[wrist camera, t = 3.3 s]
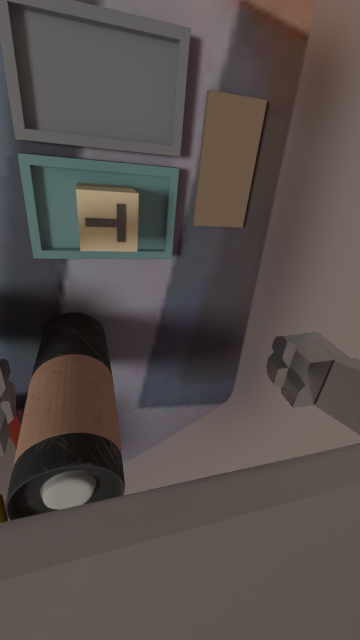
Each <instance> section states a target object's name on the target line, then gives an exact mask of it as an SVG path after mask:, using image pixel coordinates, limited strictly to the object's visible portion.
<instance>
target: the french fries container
mask: <svg viewBox="0 0 360 640" xmlns="http://www.w3.org/2000/svg"><path fill="white" fill-rule="evenodd" d="M8 427H9V431H10V435H9V439H8V443H7V447H6V451H5V454H4V455H3V456H0V523H2V522H6V521H10V519H9V518H8V516H7V514H6V499H7V493H8V488H9V483H10V479H11V474H12V469H13V464H14V459H15V454H16V449H17V444H18V439H19V434H20V430H21V425H20V422H19V420H18V417H17V415H16V412H15V415H14V419H13V420H12V421H11V422H10V423H9V424H8Z"/></svg>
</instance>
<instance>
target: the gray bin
mask: <svg viewBox="0 0 360 640" xmlns="http://www.w3.org/2000/svg"><path fill="white" fill-rule="evenodd" d="M190 33H191V28H187V27H183V26H179V25H174V24H170V23H166V22H162V21H158V20H153V19H149V18H145V17H141V16H137V15H133V14H128V13H124V12H120V11H116V10H112V9H107V8H103V7H99V6H95V5H91V4H86V3H82V2H78V1H74V0H0V41H1V48H2V55H3V61H4V68H5V74H6V81H7V87H8V94H9V100H10V107H11V113H12V120H13V127H14V133H15V139H19V140H29V141H38V142H48V143H57V144H66V145H76V146H85V147H94V148H104V149H113V150H123V151H132V152H141V153H151V154H160V155H169V156H179V157H180V153H181V141H182V129H183V117H184V105H185V93H186V81H187V69H188V57H189V45H190Z"/></svg>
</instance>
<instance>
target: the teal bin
mask: <svg viewBox="0 0 360 640" xmlns="http://www.w3.org/2000/svg"><path fill="white" fill-rule="evenodd" d="M18 159H19V166H20V172H21V179H22V185H23V192H24V199H25V205H26V212H27V218H28V225H29V231H30V238H31V244H32V251H33V257H34V258H53V259H172V250H173V238H174V226H175V214H176V201H177V189H178V177H179V168H175V167H165V166H155V165H144V164H134V163H123V162H113V161H102V160H92V159H81V158H71V157H60V156H50V155H39V154H29V153H18ZM77 183H91V184H105V185H118V186H131V187H132V188H133V189H134V190H135V191H137V192H138V193H139V204H138V246H137V252H121V251H80V238H79V224H78V211H77V197H76V185H77Z"/></svg>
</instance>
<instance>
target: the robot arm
mask: <svg viewBox="0 0 360 640" xmlns="http://www.w3.org/2000/svg"><path fill="white" fill-rule="evenodd" d="M272 349H273V350H274V352H273V353H272V354H271V356H270V357H269V358H268V362H267V373H268V376H269V378H270V380H271V381H272V382H273V383H274V384H275V385H277V386H279V387H280V388H281V393H282V395H283V396H284V397H285V398H286V399H287V401H288V402H289V403H290V405H291V406H292V407H293V408H294V407H302V406H308V405H315V406H316V407H317V408H319V409H321V410H322V411H324V412H325V413H327V414H328V415H330V416H331V417H333V418H335V419H336V420H338V421H339V422H341V423H342V424H344V425H345V426H347V427H348V428H350V429H352V430H353V431H355V432H356V433H358V434H359V435H360V360H359V359H356V358H353V359H351V358H350V357H349V356H348V355H346V354H345V353H344V352H342V351H341V350H340V349H339V348H337V347H336V346H335V345H334V344H332V343H331V342H330V341H328V340H327V339H326V338H325V337H323V336H322V335H321V334H319V333H316V332H313V333H304V334H299V335H288V336H278V337H276V338H275V340H274V341H273V344H272ZM10 372H11V370H10V366H9V363H8V361H7V360H6V359H0V456H3V455H4V454H5V451H6V447H7V443H8V439H9V435H10V431H9V427H8V424H9V423H10V422H11V421H12V420H13V419H14V415H15V411H16V392H15V387H14V384H13V383H12V382H10V381H9V380H8V379H9V375H10ZM0 640H360V443H358V444H353V445H349V446H345V447H340V448H335V449H332V450H327V451H322V452H318V453H313V454H309V455H305V456H300V457H295V458H291V459H286V460H282V461H277V462H273V463H268V464H264V465H260V466H255V467H250V468H246V469H241V470H237V471H232V472H228V473H223V474H219V475H214V476H209V477H205V478H201V479H196V480H192V481H187V482H182V483H178V484H174V485H169V486H164V487H160V488H155V489H151V490H147V491H142V492H137V493H133V494H128V495H124V496H119V497H115V498H110V499H106V500H101V501H97V502H92V503H88V504H83V505H79V506H74V507H70V508H65V509H61V510H56V511H52V512H47V513H43V514H38V515H34V516H29V517H24V518H20V519H15V520H11V521H6V522H2V523H0Z"/></svg>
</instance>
